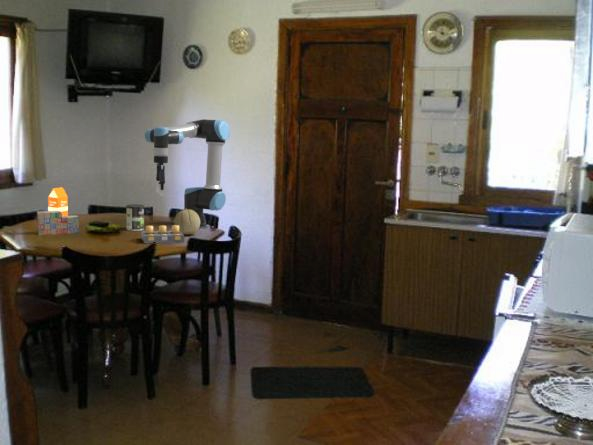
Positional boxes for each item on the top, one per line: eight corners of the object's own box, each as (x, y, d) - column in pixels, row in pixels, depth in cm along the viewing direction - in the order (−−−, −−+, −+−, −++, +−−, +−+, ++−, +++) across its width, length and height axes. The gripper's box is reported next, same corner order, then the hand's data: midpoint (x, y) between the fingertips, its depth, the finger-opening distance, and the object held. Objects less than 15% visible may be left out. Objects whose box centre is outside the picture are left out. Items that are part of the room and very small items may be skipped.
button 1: (152, 234, 386) (152, 225, 385) (153, 235, 382) (153, 226, 381) (145, 234, 385) (145, 225, 384) (146, 236, 381) (146, 226, 380)
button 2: (178, 234, 391) (178, 225, 390) (179, 235, 387) (179, 226, 386) (171, 234, 389) (171, 225, 388) (172, 235, 386) (172, 226, 385)
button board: (179, 237, 396) (179, 230, 396) (184, 242, 383) (184, 234, 382) (141, 238, 389) (141, 230, 389) (144, 243, 376) (144, 235, 376)
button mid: (165, 234, 388) (165, 225, 388) (166, 235, 385) (166, 226, 384) (158, 234, 387) (158, 225, 386) (159, 235, 383) (159, 226, 382)
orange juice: (48, 220, 433) (47, 188, 429) (58, 218, 441) (57, 186, 438) (58, 221, 430) (58, 189, 427) (68, 219, 438) (67, 187, 435)
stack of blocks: (77, 231, 403) (76, 209, 401) (78, 233, 397) (78, 211, 395) (37, 233, 393) (36, 211, 391) (38, 235, 388) (38, 212, 386)
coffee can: (146, 228, 420) (147, 204, 417) (139, 231, 410) (139, 207, 408) (130, 227, 422) (130, 203, 419) (123, 230, 412) (123, 206, 410)
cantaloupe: (188, 238, 396) (189, 211, 394) (168, 234, 404) (169, 208, 401) (205, 234, 409) (206, 208, 406) (186, 231, 416) (186, 205, 414)
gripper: (151, 153, 397) (151, 191, 400) (156, 157, 374) (155, 197, 377) (165, 154, 399) (164, 191, 403) (170, 157, 376) (170, 197, 379)
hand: (160, 194), depth 390 cm, fingers open, 13 cm apart
